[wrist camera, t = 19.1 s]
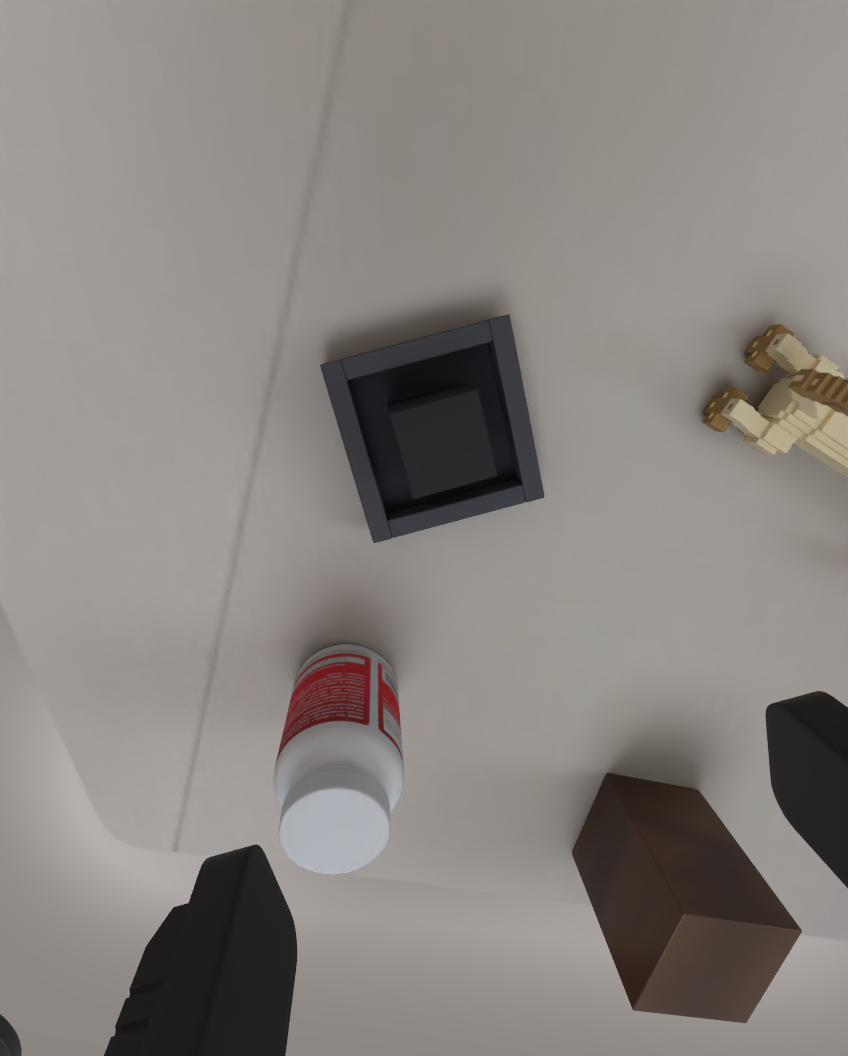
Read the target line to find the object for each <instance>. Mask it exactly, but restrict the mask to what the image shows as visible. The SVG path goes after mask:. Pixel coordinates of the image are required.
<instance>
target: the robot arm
mask: <svg viewBox="0 0 848 1056" xmlns="http://www.w3.org/2000/svg"><path fill="white" fill-rule="evenodd" d="M766 727H767V740H768V752H769V764H770V776H771V785H772V789H773V792H774V795H775V798H776V800H777V802H778V804H779V806H780V808H781V810H782V812H783V814H784V815H785V817H786V818H787V820H788V821H789V823H790V824H791V825H792V826H793V828H794V829H795V830H796V831H797V832H798V833H799V834H800V836H801V837H802V838H803V839H804V840H805V841H806V842H807V843H808V844H809V846H810V847H811V848H812V849H813V850H814V851H815V852H816V853H817V854H818V856H819V857H820V858H821V859H822V860H823V861H824V862H825V863H826V864H827V866H828V867H829V868H830V869H831V870H832V871H833V872H834V873H835V874H836V876H837V877H838V878H839V879H840V880H841V881H842V882H843V883H844V884H845V886H846V887H847V888H848V708H847V707H846V706H845V705H843V704H842V703H841V702H839V701H838V700H836V699H835V698H834V697H832V696H831V695H829V694H827V693H825V692H821V691H816V692H812V693H809V694H805V695H801V696H798V697H794V698H791V699H787V700H783V701H780V702H776V703H772V704H770V705H769V706H768V707H767V709H766ZM296 963H297V940H296V931H295V925H294V921H293V917H292V915H291V912H290V910H289V908H288V905H287V903H286V901H285V898H284V896H283V894H282V891H281V889H280V887H279V885H278V882H277V880H276V878H275V876H274V873H273V871H272V869H271V866H270V864H269V862H268V860H267V857H266V855H265V853H264V851H263V850H262V848H261V847H260V846H259V845H252V846H248V847H245V848H241V849H238V850H234V851H230V852H227V853H223V854H219V855H216V856H212V857H209V858H207V859H206V860H205V861H204V863H203V864H202V866H201V869H200V871H199V874H198V877H197V880H196V883H195V886H194V889H193V892H192V895H191V898H190V901H189V903H188V904H184V905H180V906H177V907H174V908H173V909H172V910H171V912H170V913H169V914H168V916H167V917H166V919H165V920H164V922H163V923H162V924H161V926H160V927H159V929H158V930H157V932H156V933H155V934H154V936H153V937H152V939H151V940H150V942H149V943H148V945H147V946H146V948H145V951H144V953H143V956H142V959H141V961H140V964H139V966H138V969H137V972H136V974H135V977H134V979H133V982H132V984H131V987H130V997H129V998H126V1000H125V1002H124V1005H123V1008H122V1011H121V1013H120V1015H119V1018H118V1021H117V1023H116V1026H115V1028H116V1033H115V1036H113V1037H111V1039H110V1041H109V1044H108V1047H107V1049H106V1052H105V1055H104V1056H285V1053H286V1045H287V1037H288V1029H289V1021H290V1013H291V1005H292V997H293V989H294V981H295V973H296V965H297V964H296Z"/></svg>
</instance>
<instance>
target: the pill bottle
mask: <svg viewBox="0 0 848 1056" xmlns="http://www.w3.org/2000/svg"><path fill="white" fill-rule="evenodd" d="M403 783H404V765H403V753H402V740H401V727H400V713H399V700H398V687H397V681H396V677H395V675H394V672H393V670H392V668H391V667H390V665H389V664H388V663H387V661H386V660H385V659H384V658H383V657H381V656H380V655H379V654H377V653H376V652H374V651H372V650H370V649H368V648H365V647H362V646H358V645H352V644H340V645H334V646H331V647H328V648H325V649H323V650H321V651H319V652H317V653H316V654H314V655H313V656H311V657H310V658H309V659H308V660H307V661H306V662H305V663H304V665H303V666H302V667H301V669H300V671H299V673H298V675H297V677H296V680H295V684H294V688H293V692H292V696H291V700H290V705H289V709H288V713H287V718H286V722H285V726H284V731H283V735H282V740H281V744H280V748H279V752H278V756H277V761H276V765H275V771H274V791H275V795H276V799H277V801H278V804H279V806H280V807H281V809H282V810H281V819H280V826H279V839H280V843H281V846H282V848H283V850H284V852H285V853H286V855H287V856H288V857H289V858H290V859H291V860H292V861H293V862H294V863H296V864H297V865H299V866H300V867H302V868H304V869H307V870H309V871H312V872H316V873H321V874H342V873H347V872H351V871H355V870H357V869H359V868H362V867H364V866H366V865H367V864H369V863H370V862H372V861H373V860H374V859H375V858H376V857H377V856H378V855H379V854H380V853H381V852H382V850H383V849H384V847H385V845H386V843H387V841H388V838H389V832H390V813H391V812H392V810H393V809H394V807H395V806H396V804H397V802H398V800H399V798H400V795H401V792H402V789H403Z"/></svg>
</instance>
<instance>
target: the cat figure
mask: <svg viewBox="0 0 848 1056" xmlns="http://www.w3.org/2000/svg"><path fill="white" fill-rule="evenodd" d="M793 335H794V333H793V332H791V331H790V330H788V329H787V328H785V327H784V326H783V325H781V324H778V325H771V326H769V328H768V329H767V330H766V332H765V333H764V335H763V336H760V337H755V339H754V340H753V342H752V343H751V345H750V346H749V347H748V349H747V350H746V352H745V353H747V354H748V355H749V356H748V357H747V359H746V360H745V363H746V364H748V365H749V366H751V367H752V368H753V369H755V370H756V371H768V370H769V369H770V367H771V366H772V364H773V363H774V362H775V361H777V363H776V364H777V365H779V366H780V367H782V368H783V369H785V370H786V371H787V372H786V373H787V374H788V375H787V377H789V378H782V379H781V381H780V382H779V383H775V384H774V385H773V387H772V388H771V390H770V391H769V392H768V394H767V395H766V396H765V398H764V399H763V401H762V402H761V403H760V405H759V406H758V409H759V410H758V412H757V411H755V410H754V409H755V408H754V407H752V406H751V405H749V404H748V403H746V401H747V399H748V398H749V397H748V396H747V395H745V394H744V393H742V392H741V391H739V390H738V389H736V388H726V389H725V390H724V391H723V393H722V394H721V396H720V397H713V399H712V400H711V401H710V403H709V404H708V406H707V407H706V409H705V410H704V411H703V412H705V413H706V414H707V416H706V417H705V418H704V420H703V421H702V423H704V424H706V425H707V426H709V427H710V428H712V429H713V430H715V431H719V432H724V431H725V430H726V428H727V427H728V426H729V424H730V423H733V424H732V425H733V426H735V427H736V428H738V429H739V430H741V431H743V434H744V436H746V438H745V439H744V440H743V441H745V442H746V443H748V444H749V445H751V446H752V447H754V448H755V449H757V450H758V451H760V452H763V453H767V454H772V455H774V454H775V453H776V452H780V453H785V454H786V453H787V452H788V450H789V449H790V448H791V446H792V445H793V444H794V445H797V446H798V447H800V448H801V449H803V450H804V451H806V452H807V453H809V454H810V455H812V456H813V457H815V458H816V459H818V460H819V461H821V462H822V463H824V464H826V465H827V466H829V467H830V468H832V469H833V470H835V471H836V472H838V473H840V474H843V475H845V476H846V477H848V380H844V379H843V377H844V375H843V374H841V373H840V372H838V371H837V370H838V369H839V368H840V367H839V366H837V365H836V364H834V363H833V362H831V361H830V360H828V359H827V358H826V357H824V356H823V355H810V354H808V353H807V349H805V348H804V347H802V346H801V344H802V343H801V342H800V341H798V340H797V339H795V338H794V337H793Z"/></svg>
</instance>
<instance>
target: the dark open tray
mask: <svg viewBox="0 0 848 1056" xmlns="http://www.w3.org/2000/svg"><path fill="white" fill-rule="evenodd" d="M320 366H321V370H322V373H323V376H324V380H325V383H326V386H327V390H328V393H329V396H330V400H331V403H332V406H333V410H334V413H335V416H336V419H337V423H338V426H339V429H340V433H341V436H342V439H343V443H344V446H345V449H346V453H347V456H348V459H349V463H350V466H351V469H352V473H353V476H354V479H355V483H356V486H357V489H358V493H359V496H360V499H361V503H362V506H363V509H364V513H365V516H366V519H367V523H368V526H369V529H370V533H371V536H372V539H373V542H374V543H376V542H380V541H384V540H387V539H391V538H392V537H398V536H401V535H405V534H409V533H413V532H416V531H420V530H424V529H428V528H431V527H435V526H439V525H443V524H446V523H450V522H454V521H457V520H461V519H465V518H469V517H472V516H476V515H480V514H484V513H487V512H491V511H495V510H498V509H502V508H506V507H510V506H513V505H517V504H521V503H524V502H525V501H526V502H529V501H533V500H537V499H540V498H544V492H543V487H542V481H541V476H540V471H539V466H538V461H537V455H536V450H535V445H534V440H533V435H532V429H531V424H530V419H529V414H528V409H527V404H526V398H525V393H524V388H523V383H522V378H521V372H520V367H519V362H518V357H517V352H516V346H515V341H514V336H513V331H512V326H511V321H510V315H504V316H501V317H497V318H493V319H489V320H486V321H482V322H478V323H474V324H471V325H467V326H463V327H459V328H456V329H452V330H448V331H445V332H441V333H437V334H433V335H430V336H426V337H422V338H418V339H415V340H411V341H407V342H403V343H400V344H396V345H392V346H389V347H385V348H381V349H377V350H374V351H370V352H366V353H362V354H359V355H355V356H351V357H347V358H344V359H340V360H336V361H333V362H329V363H325V364H321V365H320ZM459 384H465V385H467V386H470V387H473V388H475V389H478V392H479V396H480V400H481V405H482V409H483V414H484V418H485V422H486V427H487V431H488V436H489V440H490V444H491V449H492V453H493V458H494V462H495V466H496V471H497V476H496V477H492V478H488V479H485V480H481V481H478V482H474V483H470V484H467V485H463V486H460V487H456V488H452V489H449V490H445V491H442V492H438V493H434V494H431V495H427V496H424V497H420V498H416V499H413V497H412V494H411V490H410V487H409V483H408V479H407V476H406V472H405V469H404V465H403V462H402V458H401V454H400V451H399V447H398V444H397V440H396V437H395V433H394V429H393V426H392V422H391V419H390V415H389V411H388V404H390V403H394V402H398V401H401V400H405V399H408V398H412V397H416V396H419V395H423V394H426V393H430V392H434V391H437V390H441V389H444V388H448V387H452V386H455V385H459Z"/></svg>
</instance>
